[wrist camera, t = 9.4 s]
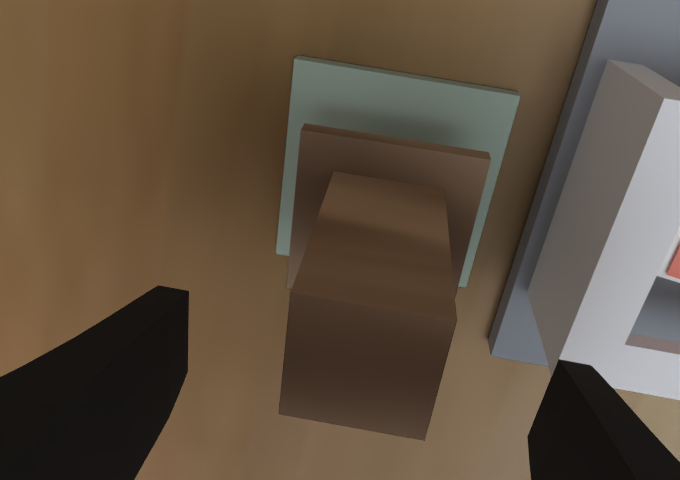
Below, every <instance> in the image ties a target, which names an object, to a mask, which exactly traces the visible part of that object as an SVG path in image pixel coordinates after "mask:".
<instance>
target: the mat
mask: <svg viewBox="0 0 680 480" xmlns="http://www.w3.org/2000/svg"><path fill="white" fill-rule="evenodd" d="M519 100H520V95H519V93H518V91H512V90H506V89H500V88H494V87H488V86H481V85H475V84H469V83H463V82H457V81H451V80H445V79H439V78H433V77H427V76H421V75H415V74H409V73H402V72H396V71H390V70H384V69H378V68H372V67H366V66H360V65H354V64H348V63H342V62H336V61H329V60H323V59H317V58H311V57H305V56H299V55H298V56H297V57H296V58H295V59H294V66H293V77H292V87H291V98H290V108H289V119H288V130H287V140H286V151H285V161H284V172H283V182H282V193H281V203H280V214H279V225H278V235H277V246H276V254H281V255H286V256H289V250H290V239H291V228H292V217H293V207H294V196H295V185H296V174H297V164H298V153H299V142H300V132H301V128H302V127H303V125H304V123H307V124H313V125H319V126H326V127H332V128H338V129H345V130H351V131H357V132H364V133H370V134H377V135H383V136H389V137H396V138H402V139H408V140H415V141H421V142H427V143H434V144H440V145H447V146H453V147H459V148H466V149H472V150H478V151H485V152H489V154H490V158H491V163H490V166H489V170H488V174H487V178H486V182H485V186H484V189H483V193H482V197H481V201H480V205H479V209H478V212H477V216H476V220H475V224H474V228H473V232H472V235H471V239H470V243H469V247H468V251H467V254H466V258H465V262H464V266H463V270H462V274H461V277H460V281H459V285H458V286H459V287H465V288H466V286H467V282H468V279H469V275H470V272H471V268H472V265H473V261H474V258H475V254H476V251H477V247H478V244H479V240H480V237H481V233H482V230H483V226H484V223H485V219H486V216H487V212H488V209H489V205H490V202H491V198H492V195H493V191H494V188H495V184H496V181H497V177H498V174H499V170H500V166H501V163H502V159H503V156H504V152H505V149H506V145H507V142H508V138H509V135H510V131H511V128H512V124H513V121H514V117H515V114H516V110H517V107H518V103H519Z"/></svg>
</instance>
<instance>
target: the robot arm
mask: <svg viewBox="0 0 680 480" xmlns="http://www.w3.org/2000/svg"><path fill="white" fill-rule="evenodd" d="M188 310H189V291H186V290H180V289H175V288H169V287H164V286H157V287H155V288H154V289H152V290H150V291H149V292H147V293H145V294H144V295H142V296H141V297H139V298H137V299H136V300H134V301H133V302H131V303H130V304H128V305H126V306H125V307H123V308H122V309H120V310H119V311H117V312H115V313H114V314H112V315H111V316H109V317H107V318H106V319H104V320H102V321H101V322H99V323H98V324H96V325H94V326H93V327H91V328H89V329H88V330H86V331H84V332H83V333H81V334H80V335H78V336H76V337H75V338H73V339H71V340H69V341H67V342H66V343H64V344H62V345H60V346H58V347H56V348H55V349H53V350H51V351H49V352H47V353H46V354H44V355H42V356H40V357H38V358H37V359H35V360H33V361H31V362H29V363H27V364H26V365H24V366H22V367H20V368H18V369H16V370H14V371H12V372H10V373H8V374H6V375H4V376H1V377H0V480H134V479H135V477H136V475H137V474H138V472H139V470H140V468H141V467H142V465H143V463H144V461H145V459H146V458H147V456H148V454H149V452H150V451H151V449H152V447H153V445H154V444H155V442H156V440H157V438H158V436H159V435H160V433H161V431H162V429H163V427H164V426H165V424H166V422H167V420H168V418H169V416H170V414H171V412H172V409H173V407H174V404H175V402H176V400H177V397H178V395H179V392H180V390H181V387H182V385H183V382H184V380H185V377H186V375H187V372H188ZM528 448H529V461H530V472H531V480H680V462H679V461H678V460H677V459H676V458H675V457H674V456H673V455H672V454H671V452H670V451H669V450H668V449H667V448H666V447H665V446H664V445H663V444H662V443H661V442H660V441H659V439H658V438H657V437H656V436H655V435H654V434H653V433H652V432H651V431H650V430H649V428H648V427H647V426H646V425H645V424H644V423H643V422H642V421H641V420H640V418H639V417H638V416H637V415H636V414H635V413H634V412H633V411H632V409H631V408H630V407H629V406H628V405H627V404H626V403H625V402H624V400H623V399H622V398H621V397H620V396H619V395H618V394H617V393H616V391H615V390H614V389H613V388H612V387H611V386H610V385H609V384H608V382H607V381H606V380H605V379H604V378H603V377H602V376H601V375H600V374H599V373H598V372H597V371H596V370H595V369H594V368H593V367H592V366H591V365H587V364H582V363H577V362H571V361H566V360H560V359H559V360H558V362H557V365H556V367H555V370H554V372H553V375H552V377H551V380H550V382H549V385H548V387H547V390H546V392H545V395H544V397H543V400H542V402H541V405H540V407H539V409H538V412H537V414H536V417H535V419H534V422H533V424H532V427H531V429H530V432H529V434H528Z"/></svg>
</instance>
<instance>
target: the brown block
mask: <svg viewBox="0 0 680 480" xmlns="http://www.w3.org/2000/svg"><path fill="white" fill-rule="evenodd" d="M490 163H491V158H490V154H489V152H485V151H478V150H472V149H466V148H459V147H453V146H447V145H440V144H434V143H427V142H421V141H415V140H408V139H402V138H396V137H389V136H383V135H377V134H370V133H364V132H357V131H351V130H345V129H338V128H332V127H326V126H319V125H313V124H307V123H304V125H303V127H302V128H301V132H300V142H299V153H298V164H297V174H296V185H295V196H294V207H293V217H292V228H291V239H290V250H289V260H288V271H287V282H286V289H291V292H290V302H289V312H288V322H287V332H286V343H285V353H284V363H283V373H282V383H281V394H280V404H279V414H281V415H286V416H292V417H297V418H303V419H308V420H314V421H319V422H325V423H330V424H336V425H341V426H347V427H352V428H358V429H363V430H369V431H374V432H380V433H385V434H391V435H396V436H402V437H407V438H413V439H418V440H424V441H425V437H426V434H427V430H428V426H429V422H430V419H431V415H432V411H433V408H434V404H435V400H436V396H437V393H438V389H439V385H440V382H441V378H442V374H443V370H444V367H445V363H446V359H447V356H448V352H449V348H450V344H451V341H452V337H453V333H454V330H455V326H456V322H457V317H456V306H455V297H456V293H457V289H458V285H459V281H460V277H461V274H462V270H463V266H464V262H465V258H466V254H467V251H468V247H469V243H470V239H471V235H472V232H473V228H474V224H475V220H476V216H477V212H478V209H479V205H480V201H481V197H482V193H483V189H484V186H485V182H486V178H487V174H488V170H489V166H490Z"/></svg>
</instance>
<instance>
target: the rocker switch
mask: <svg viewBox="0 0 680 480" xmlns="http://www.w3.org/2000/svg"><path fill="white" fill-rule="evenodd" d="M657 276H659V277H662V278H665V279H669V280H672V281H675V282H678V283H680V227H679V229H678V231H677V233H676V235H675V238H674V240H673V242H672V244H671V246H670V248H669V250H668V253H667V255H666V257H665V259H664V261H663V263H662V265H661V268H660V270H659V272H658V274H657Z"/></svg>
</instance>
